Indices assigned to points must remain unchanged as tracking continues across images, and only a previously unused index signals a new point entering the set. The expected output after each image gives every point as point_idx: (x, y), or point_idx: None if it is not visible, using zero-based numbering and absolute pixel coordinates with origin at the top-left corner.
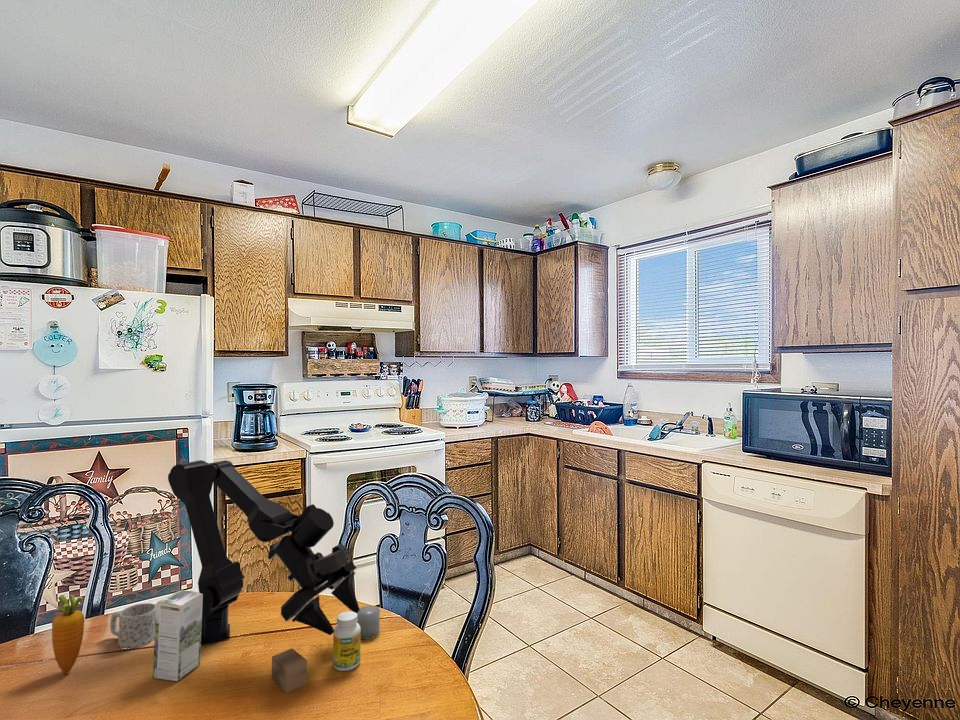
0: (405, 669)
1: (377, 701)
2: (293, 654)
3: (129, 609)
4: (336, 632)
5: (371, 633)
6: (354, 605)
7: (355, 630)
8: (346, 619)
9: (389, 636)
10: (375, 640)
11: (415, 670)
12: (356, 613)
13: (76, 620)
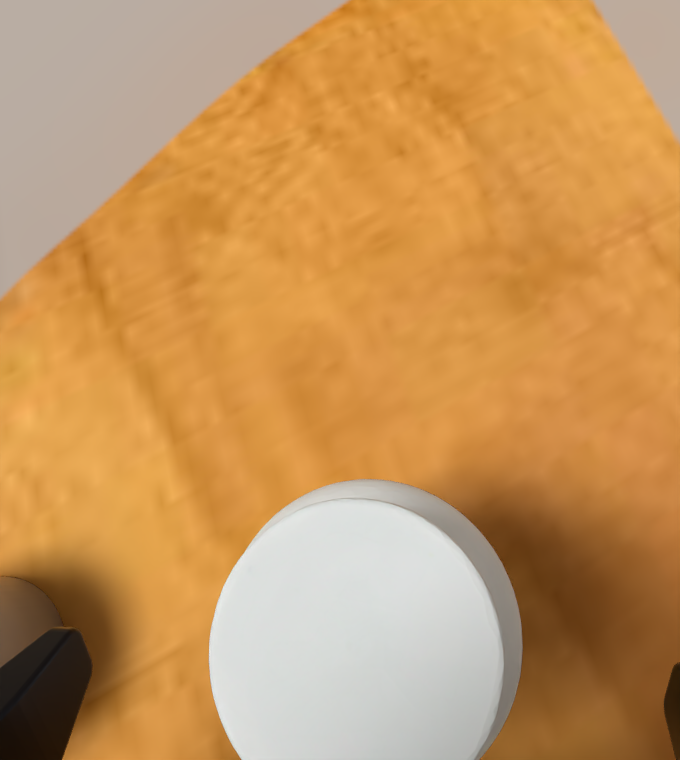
0: (332, 240)
1: (644, 240)
2: None
3: None
4: (507, 703)
5: (31, 603)
6: (27, 714)
7: (403, 493)
8: (450, 598)
9: (16, 488)
10: (75, 558)
11: (325, 191)
12: (250, 548)
13: None
